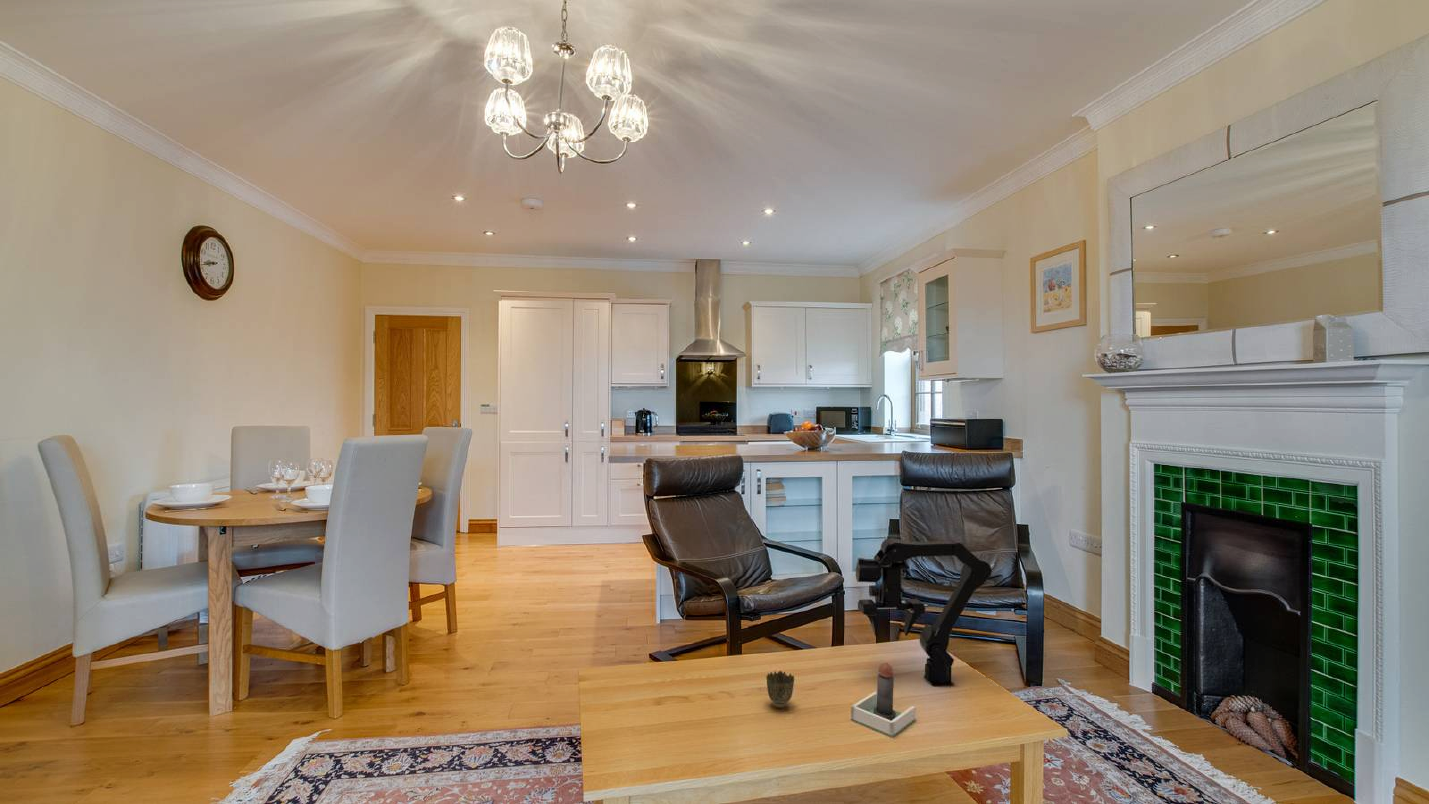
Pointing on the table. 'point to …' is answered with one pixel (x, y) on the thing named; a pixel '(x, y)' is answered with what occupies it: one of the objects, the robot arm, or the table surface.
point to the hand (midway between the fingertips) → (890, 635)
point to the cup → (780, 688)
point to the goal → (865, 716)
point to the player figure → (885, 693)
